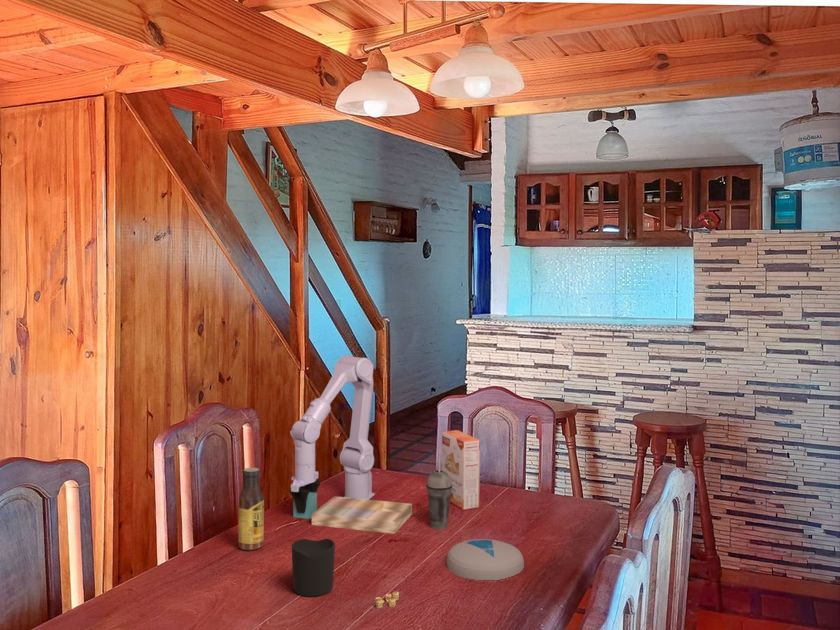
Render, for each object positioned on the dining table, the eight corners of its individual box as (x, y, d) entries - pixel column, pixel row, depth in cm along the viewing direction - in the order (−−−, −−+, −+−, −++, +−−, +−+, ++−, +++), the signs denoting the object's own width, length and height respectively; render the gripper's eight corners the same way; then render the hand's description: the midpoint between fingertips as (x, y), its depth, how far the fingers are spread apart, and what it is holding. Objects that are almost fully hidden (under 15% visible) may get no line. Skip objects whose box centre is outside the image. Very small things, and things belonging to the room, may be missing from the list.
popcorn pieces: (398, 599, 159) (398, 591, 158) (399, 610, 154) (399, 601, 153) (375, 599, 158) (375, 591, 158) (374, 610, 153) (374, 601, 153)
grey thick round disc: (460, 586, 165) (461, 564, 165) (437, 555, 183) (437, 535, 182) (536, 577, 170) (537, 556, 169) (506, 548, 188) (506, 529, 187)
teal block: (300, 511, 213) (300, 491, 213) (316, 513, 212) (316, 492, 212) (293, 517, 209) (293, 496, 208) (309, 518, 207) (309, 498, 207)
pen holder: (314, 576, 169) (314, 533, 168) (343, 587, 163) (343, 543, 162) (282, 589, 162) (282, 545, 161) (311, 602, 156) (311, 556, 155)
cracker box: (440, 497, 228) (441, 430, 226) (457, 495, 230) (458, 429, 229) (462, 511, 215) (462, 440, 214) (479, 508, 218) (480, 438, 216)
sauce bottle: (257, 552, 182) (257, 474, 181) (234, 550, 184) (233, 472, 182) (268, 543, 189) (267, 467, 188) (245, 541, 190) (244, 465, 189)
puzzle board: (311, 524, 203) (311, 514, 202) (334, 506, 218) (334, 496, 218) (394, 533, 196) (394, 522, 196) (411, 514, 212) (411, 503, 212)
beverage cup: (452, 522, 205) (453, 452, 204) (451, 532, 198) (452, 458, 197) (426, 521, 206) (427, 451, 205) (424, 530, 199) (425, 458, 197)
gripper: (302, 455, 217) (303, 500, 218) (280, 468, 204) (281, 516, 204) (325, 457, 216) (325, 502, 216) (304, 470, 202) (304, 518, 203)
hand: (305, 509), depth 210 cm, fingers closed on teal block, 5 cm apart
